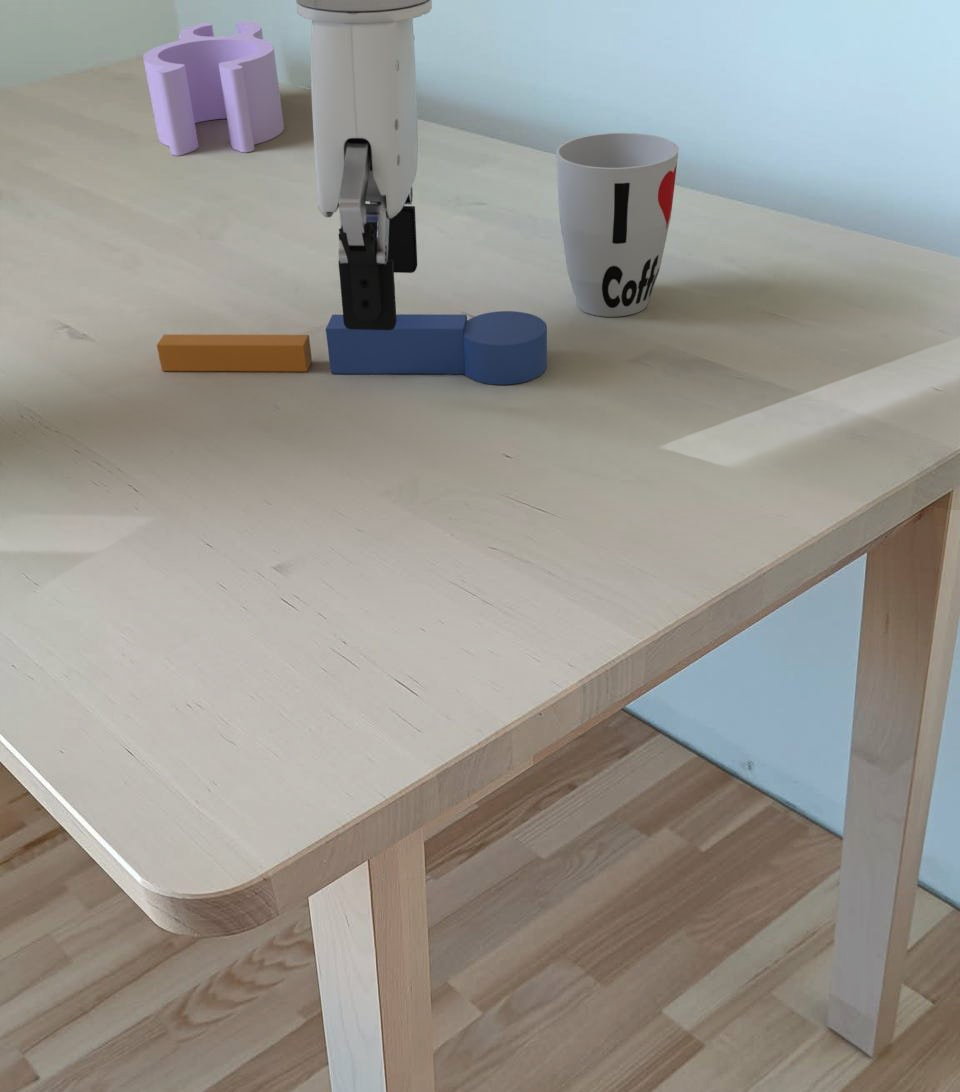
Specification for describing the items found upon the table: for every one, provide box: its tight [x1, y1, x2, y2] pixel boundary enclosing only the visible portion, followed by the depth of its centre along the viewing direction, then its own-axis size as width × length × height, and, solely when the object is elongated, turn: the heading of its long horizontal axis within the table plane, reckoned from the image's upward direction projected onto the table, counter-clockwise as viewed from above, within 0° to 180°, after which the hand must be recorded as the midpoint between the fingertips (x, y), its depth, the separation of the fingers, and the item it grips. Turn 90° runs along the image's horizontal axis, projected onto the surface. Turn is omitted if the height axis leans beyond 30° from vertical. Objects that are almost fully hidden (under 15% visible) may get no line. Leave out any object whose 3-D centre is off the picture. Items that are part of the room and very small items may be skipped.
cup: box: [555, 132, 680, 318], centre depth 88 cm, size 8×8×10 cm
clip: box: [142, 20, 285, 157], centre depth 126 cm, size 20×12×7 cm, turn 1°
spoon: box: [325, 310, 548, 386], centre depth 84 cm, size 14×6×3 cm, turn 85°
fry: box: [156, 333, 313, 373], centre depth 85 cm, size 10×2×2 cm, turn 85°
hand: (382, 298), depth 82 cm, fingers open, 9 cm apart
